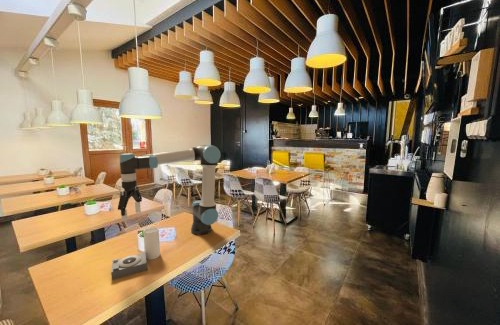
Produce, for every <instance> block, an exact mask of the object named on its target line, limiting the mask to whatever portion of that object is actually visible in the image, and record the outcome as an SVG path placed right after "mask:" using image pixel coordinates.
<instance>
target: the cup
mask: <svg viewBox="0 0 500 325" xmlns="http://www.w3.org/2000/svg"><path fill="white" fill-rule="evenodd" d="M143 244H144V247H143V248H144V253H145V255H146V260H154V259H158V258H159V257H160V256H161V245H160V231H159V227H156V226H153V227H147V228H145V229H143Z"/></svg>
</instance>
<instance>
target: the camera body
mask: <svg viewBox="0 0 500 325" xmlns="http://www.w3.org/2000/svg"><path fill="white" fill-rule="evenodd" d="M111 261H112V262H111V270H110V274H111V280H112V281H113V280H116V279H119V278H123V277H127V276H130V275H133V274H136V273H141V272H145V271H148V262H147V261H148V259H146V255H145V252H142V253H138V254H133V255H131V254H130V255H128V256H125V257H122V258H114V259H113V260H111Z"/></svg>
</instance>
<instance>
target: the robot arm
mask: <svg viewBox="0 0 500 325" xmlns="http://www.w3.org/2000/svg"><path fill="white" fill-rule="evenodd" d="M220 159H221V150H220V149H219V147H217V146H215V145H212V144H209V145H208V144H203V145H199V146H195V147H190V148H188V149H183V150H174V151H173V150H172V151H167V152H166V151H165V152H158V153H156V152H155V153H149V154H141V155H139V156H136V155H135V153H130V152H129V153H121V154H120V155H119V167H120V178H121V188H122V189H123V191H119V192H120V193H119V194H120V195H119V201H118V204H117V205H118V206H117V210H118V211H120V215H121V221H122V222H128V210H127V209H126V208H127V206H128V203H129V201H130V199H131V198H133V200H134V201H135V202H134V208H135V214H137V213H138V214H140V213H141V212H142V211H141V210H142V209H141V203H142V200H143V198H142V197H143V196H142V194H141V192H140V189H139V186H138V185H137V184H138V182H137V170H149V169H150V170H152V169H157V168H158V167H159V165H163V164H164V165H165V164H171V163H178V162H185V161H192V162H195V161H196V162H197V161H200V166H201V168H202V178H201V183H202V184H201V199H200V200H196V201H193V202H192V224H191V228H190V232H191V234H193V235H196V234H202V235H206V234H209V233H210V232H212V230H211V229H212V225H213V224H215V223H216V222H217V220H218V219H219V212H218V210H217V203H216V202H215V188H216V187H215V186H216V184H215V183H216V167H218V165H219V161H220ZM208 232H209V233H208Z"/></svg>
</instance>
